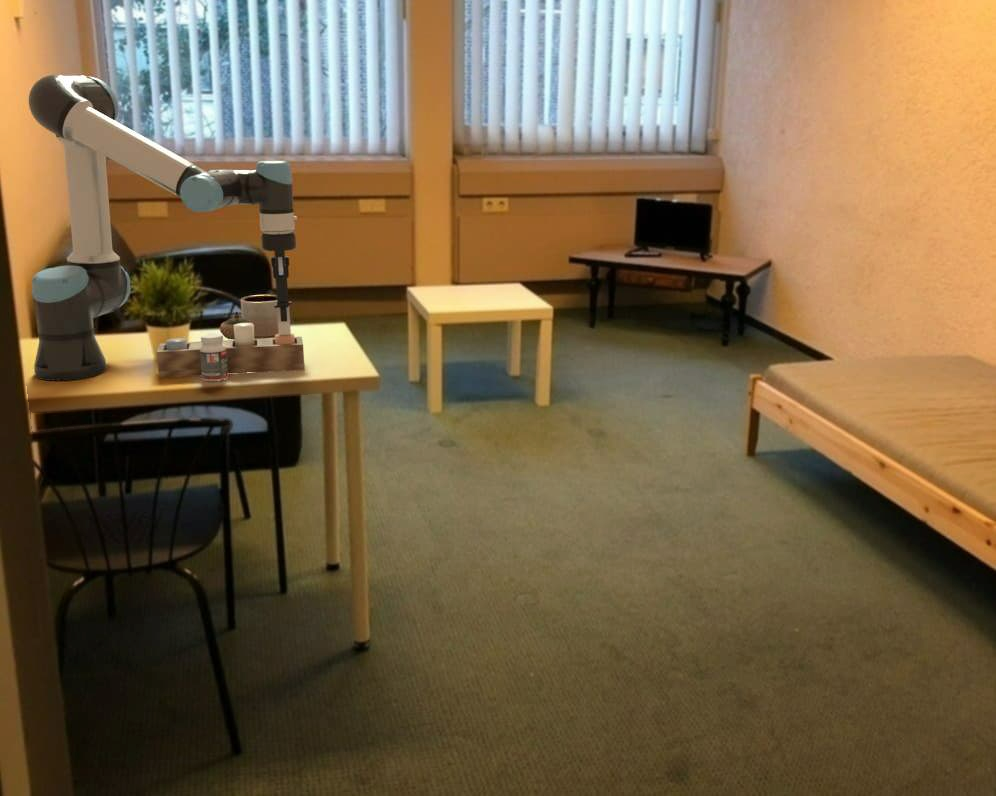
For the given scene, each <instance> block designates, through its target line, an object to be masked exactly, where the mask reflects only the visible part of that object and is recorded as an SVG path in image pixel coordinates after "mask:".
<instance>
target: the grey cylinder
mask: <svg viewBox="0 0 996 796" xmlns="http://www.w3.org/2000/svg"><path fill="white" fill-rule="evenodd" d="M165 343H166V346H167V350H179V349H187V339H186V338H179V337H178V338H170V339H166V340H165Z"/></svg>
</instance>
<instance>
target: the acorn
mask: <svg viewBox="0 0 996 796" xmlns="http://www.w3.org/2000/svg"><path fill="white" fill-rule="evenodd" d="M239 323H251V322H249V321H247V320H246V319H244V318H242V317H240V315H239V313H238V311H235V315H234V316H233V317H230V318H228V319H227V320H225V321H223V322H222V323H221V324H220V326H219V331H220V334H222V335H223V338H225V339H226V340H235V337H234V325H235V324H239ZM252 324H253V323H252ZM253 325H254V324H253ZM254 330H255V326H254Z"/></svg>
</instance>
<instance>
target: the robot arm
mask: <svg viewBox="0 0 996 796" xmlns="http://www.w3.org/2000/svg"><path fill="white" fill-rule="evenodd" d="M28 106H29V110H30V113H31V115H32V116H33V118H34V119H35V121H36V122H37V123H38V124H39V125H40V126H41V127H43V128H44V129H46V131H48V132H51V134H54V135H55V138H56V139H57V140H58V141H59V142H60V143H62V145H63V150H64V160H65V173H66V182H67V183H66V184H67V195H68V207H69V219H70V229H71V230H70V232H71V240H72V241H71V242H72V252H71V253H70V254H69V255H68V256H66V264H67V265H59V266H55V267H49V268H45V269H43V270H40V271H38V272H37V273H35V274H34V275H33V277H32V278H31V288H32V289H31V296H32V298H33V299H32V300H33V307H34V313H35V314H34V315H35V321H36V327H37V333H38V346H37V350H36V356H35V360H34V365H33V366H34V367H33V369H34V376H35V377H36V378H38V379H41V380H46V381H73V380H79V379H80V380H81V379H86V378H90V377H94V376H97V375H100V374H102V373H104V372H106V370H107V361H106V358H105V356H104V353H103V351H102V349H101V346H100V345H99V343H98V341H97V339H96V335H95V330H94V320H93V319H95V318H98V317H99V316H103V315H107V314H110V313H113V312H114V311H116V310H118V309H119V308H121V307H122V306H123V305H124V304H125V303H126V302H127V301H128V299H129V296H130V294H131V289H132V287H131V288H130V282H131V279H130V275H129V273H128V272H127V271H125V268H124V267H123V266H122V265H121V257H120V256H119V255H118V254H117V253H116V252H115V251H114V249H113V242H112V241H113V240H112V226H111V214H110V213H111V212H110V201H109V200H110V199H109V186H108V175H107V173H108V172H107V161H106V159H107V158H108V159H110V160H112V161H114V162H115V163H117V164H119V165H121V166H123V167H125V168H126V169H127V170H130V171H132V172H133V173H135V174H137V175H138V176H141V177H142V178H144V179H146V180H148V181H150V182H151V183H153V184H156V185H157V186H159V187H160V188H162V189H164V190H166V191H168V192H170V193H171V194H174V195H176V196H177V197H179V198H180V199H181V201H182V202H183V204H184V206H185V207H186V208H187V209H189V210H191V211H193V212H196V213H208V212H213V211H215V210H218V209H221V208H227V207H230V206H235V205H236V206H237V205H252V206H253V205H258V207H259V227H260V231H262V233H261V235H260V237H261V248H262V250H264V251H267V252H271V251H273V252H274V256H271V257H270V259H271V260H270V262H271V267H272V276H273V278H274V279H275V290H276V295H277V298H276V300H277V305H274V308H277V314H278V329H279V335H291V333H292V331H291V316H290V315H291V313H290V306H291V305H292V301H289V291H288V278H289V276H290V274H289V273H290V272H289V266H290V257H289V255H288V256H286V255H285V254H286V252H285V251H292V250H295V249H296V248H297V239H296V233H295V232H294V230H295V229H296V228H295V226H296V225H295V221H297V220H298V217H297V215H294V214H295V213H294V212H295V209H294V190H293V185H294V182H293V178H292V177H293V176H292V169H291V168H292V167H291V164H290V163H289V162H288V161H285V160H261V161H258V162H256V167H255V169H251V170H250V169H249V170H245V169H244V170H243V169H242V170H241V169H240V170H239V169H225V168H222V169H211V170H208V171H206V170H205V169H203V168H201V167H199V166H197V165H195V164H194V163H192V162H190V161H188V160H187V159H185V158H183V157H181V156H179V155H178V154H176V153H174V152H173V151H171V150H169V149H167V148H165V147H163V146H162V145H159V144H158V143H156V142H154V141H153V140H151V139H149V138H147V137H145V136H143V135H141V134H140V133H138V132H135V131H134V130H132V129H130V128H129V127H127V126H125V125H124V124H121V123H120V122H118V121H117V118H118V115H119V103H118V98H117V97H116V95H115V93H114V90H113V89H112V88H111V87H110V86H109V85H108V84H107V83H106V82H105V81H103V80H101V79H99V78H96V77H93V76H88V75H83V74H81V75H77V74H76V75H68V74H67V75H66V74H65V75H62V74H61V75H60V74H51V75H46V76H44V77H42V78H40V79H39V80H36V82H35V83H34V84H33V85H32V87H31V89H30V91H29V94H28Z"/></svg>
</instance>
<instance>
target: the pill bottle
mask: <svg viewBox="0 0 996 796" xmlns="http://www.w3.org/2000/svg"><path fill="white" fill-rule="evenodd" d="M223 340H224V336H223V334H222V333H219V332H217V333H216V332H211V333H206V334H202V335H201V336H200V342H202V343H203V345H202V346H201V347H200V361H201V373H202V376H201V378H202V380H203V381H204V380H205V381H204V382H208V381H217V380H223V381H225V380H227V379H228V378H229V374H228V366H227V353H226V346H225V345H224V344H222V341H223ZM224 379H225V380H224ZM217 382H218V381H217Z"/></svg>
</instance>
